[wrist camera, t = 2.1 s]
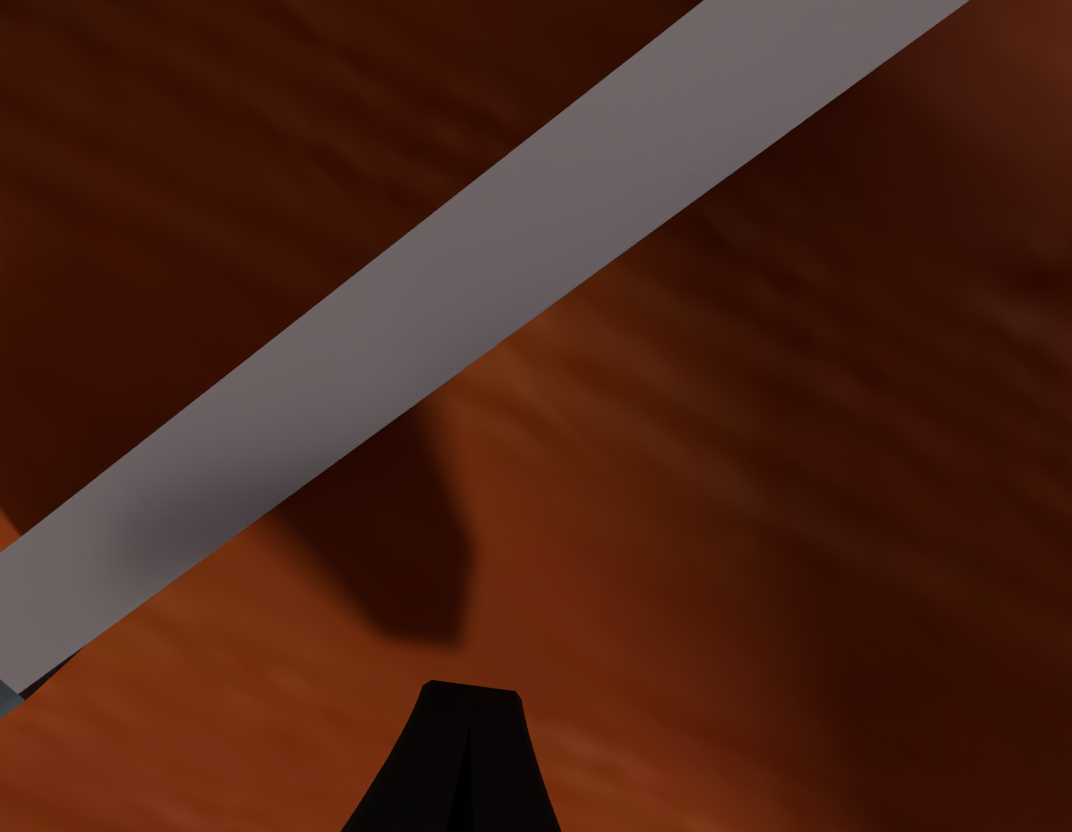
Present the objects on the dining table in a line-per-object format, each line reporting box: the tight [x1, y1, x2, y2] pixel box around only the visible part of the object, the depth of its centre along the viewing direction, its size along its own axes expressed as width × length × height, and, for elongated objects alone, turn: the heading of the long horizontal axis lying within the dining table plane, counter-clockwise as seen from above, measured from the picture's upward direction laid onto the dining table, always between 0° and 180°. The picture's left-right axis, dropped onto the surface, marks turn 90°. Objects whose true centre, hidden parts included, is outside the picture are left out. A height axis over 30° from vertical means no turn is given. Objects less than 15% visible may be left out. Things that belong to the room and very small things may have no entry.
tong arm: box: [0, 0, 969, 719], centre depth 6 cm, size 16×3×3 cm, turn 126°
